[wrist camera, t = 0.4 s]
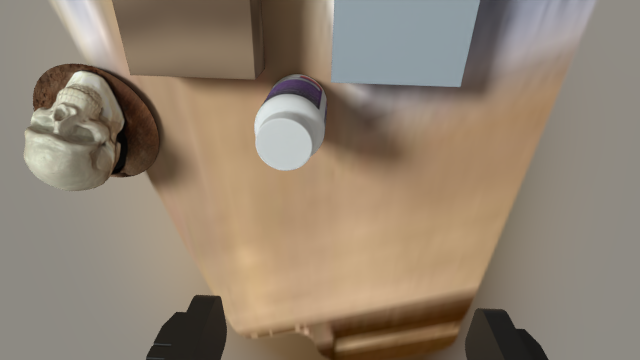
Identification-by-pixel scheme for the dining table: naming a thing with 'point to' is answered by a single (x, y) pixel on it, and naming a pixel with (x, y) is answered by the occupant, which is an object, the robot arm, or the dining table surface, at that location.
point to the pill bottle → (291, 122)
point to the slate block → (402, 41)
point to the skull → (87, 129)
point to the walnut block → (192, 37)
